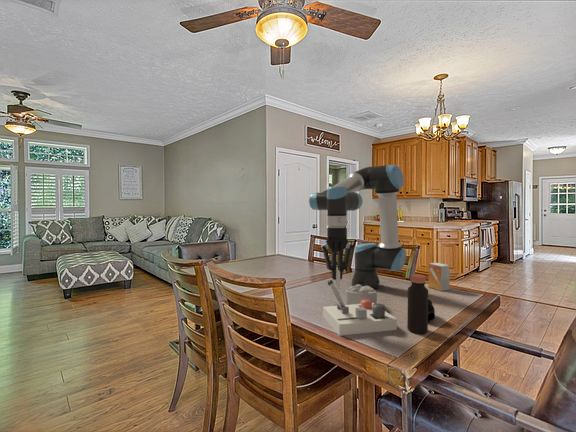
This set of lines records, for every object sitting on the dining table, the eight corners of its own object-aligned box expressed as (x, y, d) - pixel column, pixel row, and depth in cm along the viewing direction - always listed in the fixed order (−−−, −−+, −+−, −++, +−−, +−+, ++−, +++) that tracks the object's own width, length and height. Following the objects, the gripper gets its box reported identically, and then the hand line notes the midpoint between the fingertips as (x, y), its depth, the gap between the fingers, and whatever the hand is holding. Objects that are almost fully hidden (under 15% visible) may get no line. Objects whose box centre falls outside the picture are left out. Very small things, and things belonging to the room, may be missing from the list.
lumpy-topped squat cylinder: (378, 309, 131) (378, 289, 130) (348, 310, 130) (348, 290, 130) (370, 301, 141) (371, 283, 141) (343, 302, 141) (343, 283, 140)
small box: (428, 287, 164) (428, 263, 163) (436, 285, 166) (437, 262, 166) (440, 291, 156) (441, 266, 156) (449, 289, 159) (450, 265, 158)
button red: (368, 312, 125) (369, 298, 125) (374, 315, 121) (374, 302, 121) (359, 312, 125) (359, 299, 124) (363, 316, 120) (363, 303, 120)
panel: (373, 312, 128) (373, 297, 128) (396, 329, 110) (396, 312, 110) (323, 316, 123) (323, 301, 123) (339, 335, 106) (339, 317, 105)
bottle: (431, 334, 107) (432, 277, 106) (412, 335, 106) (413, 278, 105) (421, 326, 113) (422, 273, 112) (403, 326, 113) (404, 273, 112)
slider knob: (363, 315, 113) (363, 307, 113) (366, 318, 110) (366, 310, 110) (355, 315, 113) (355, 307, 113) (359, 318, 110) (359, 310, 110)
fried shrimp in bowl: (419, 313, 113) (393, 286, 130) (423, 334, 118) (397, 305, 134) (441, 304, 114) (412, 277, 130) (444, 324, 119) (416, 296, 135)
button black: (381, 317, 116) (381, 303, 115) (387, 321, 111) (387, 307, 111) (370, 318, 115) (370, 304, 114) (376, 322, 110) (376, 308, 110)
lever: (344, 305, 120) (330, 278, 119) (347, 308, 117) (333, 280, 115) (339, 308, 120) (325, 280, 118) (342, 311, 117) (328, 283, 115)
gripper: (323, 228, 111) (324, 291, 113) (356, 227, 114) (356, 289, 115) (317, 226, 119) (318, 286, 120) (348, 225, 121) (349, 284, 122)
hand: (337, 287), depth 118 cm, fingers closed
